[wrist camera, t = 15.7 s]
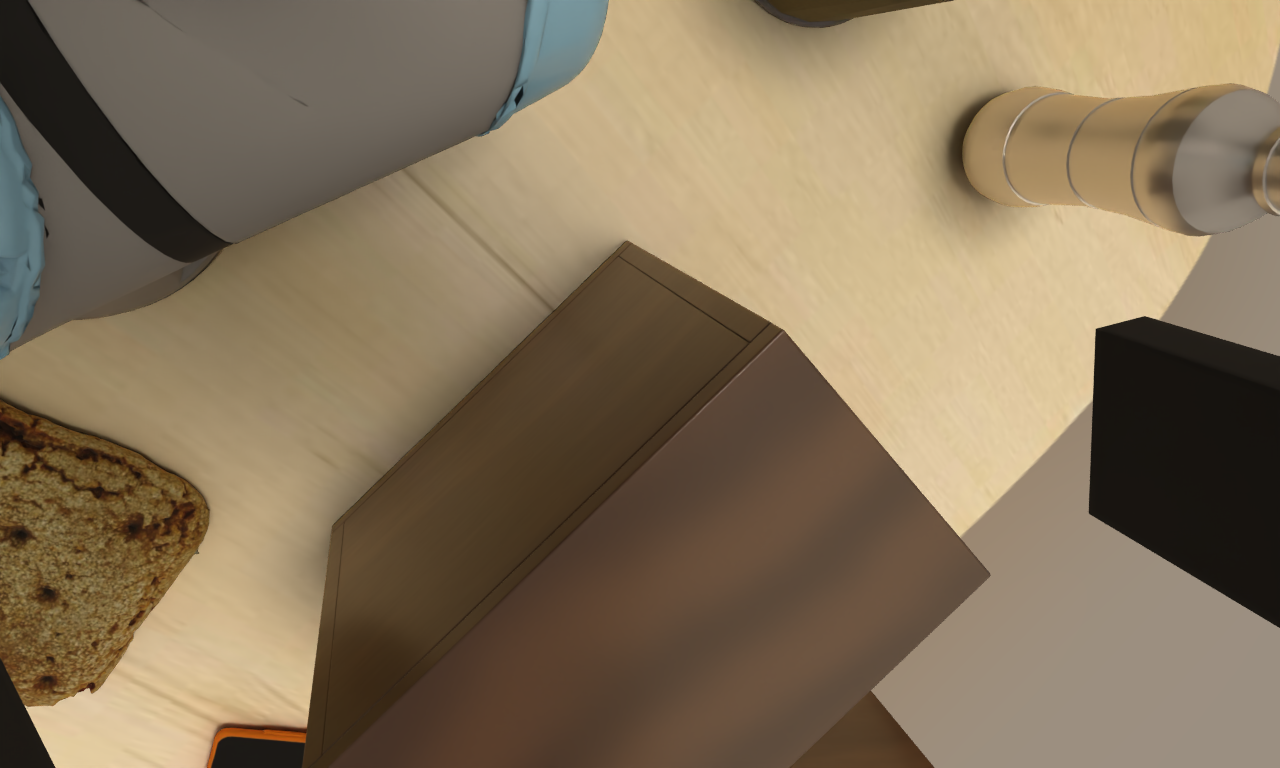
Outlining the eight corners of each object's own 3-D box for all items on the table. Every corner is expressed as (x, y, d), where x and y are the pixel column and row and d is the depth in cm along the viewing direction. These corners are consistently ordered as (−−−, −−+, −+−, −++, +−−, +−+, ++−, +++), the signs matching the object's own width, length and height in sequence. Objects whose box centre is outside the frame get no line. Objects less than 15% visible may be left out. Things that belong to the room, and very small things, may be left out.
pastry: (-97, 738, 44) (-128, 780, 42) (-271, 425, 38) (-322, 450, 36) (259, 638, 48) (252, 671, 45) (150, 338, 42) (133, 354, 39)
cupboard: (779, 409, 52) (992, 575, 34) (514, 664, 53) (583, 965, 34) (627, 239, 47) (783, 328, 28) (331, 526, 47) (297, 797, 29)
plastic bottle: (1047, 188, 53) (1401, 234, 34) (948, 214, 51) (1260, 275, 33) (1045, 76, 51) (1421, 61, 32) (941, 100, 49) (1271, 98, 31)
